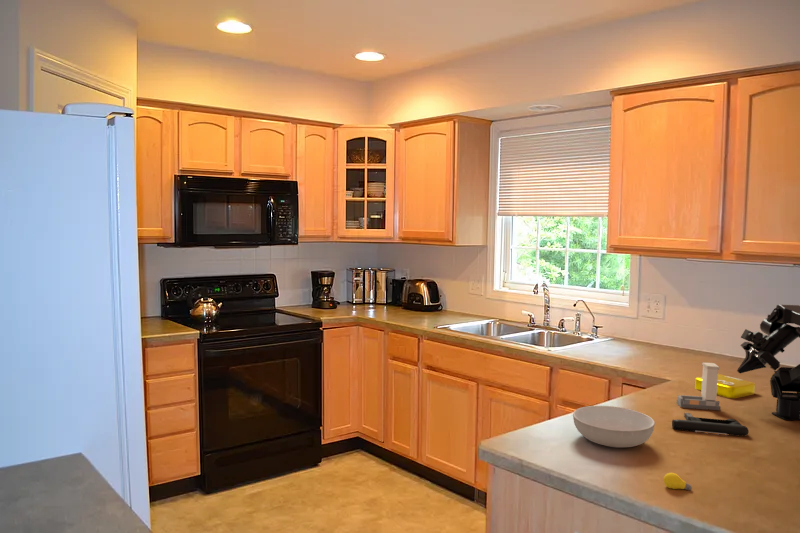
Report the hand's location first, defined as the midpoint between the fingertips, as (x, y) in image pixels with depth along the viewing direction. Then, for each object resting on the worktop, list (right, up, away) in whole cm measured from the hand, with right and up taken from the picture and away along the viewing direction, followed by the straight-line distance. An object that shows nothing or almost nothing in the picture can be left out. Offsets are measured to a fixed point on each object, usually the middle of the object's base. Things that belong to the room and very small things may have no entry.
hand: (738, 372), depth 200 cm
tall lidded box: (-9, -11, +2) cm, 14 cm away
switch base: (-12, -12, +3) cm, 17 cm away
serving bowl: (-52, -14, -32) cm, 62 cm away
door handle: (-19, -14, -17) cm, 29 cm away
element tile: (+8, -11, +23) cm, 27 cm away
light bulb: (-47, -16, -61) cm, 79 cm away
